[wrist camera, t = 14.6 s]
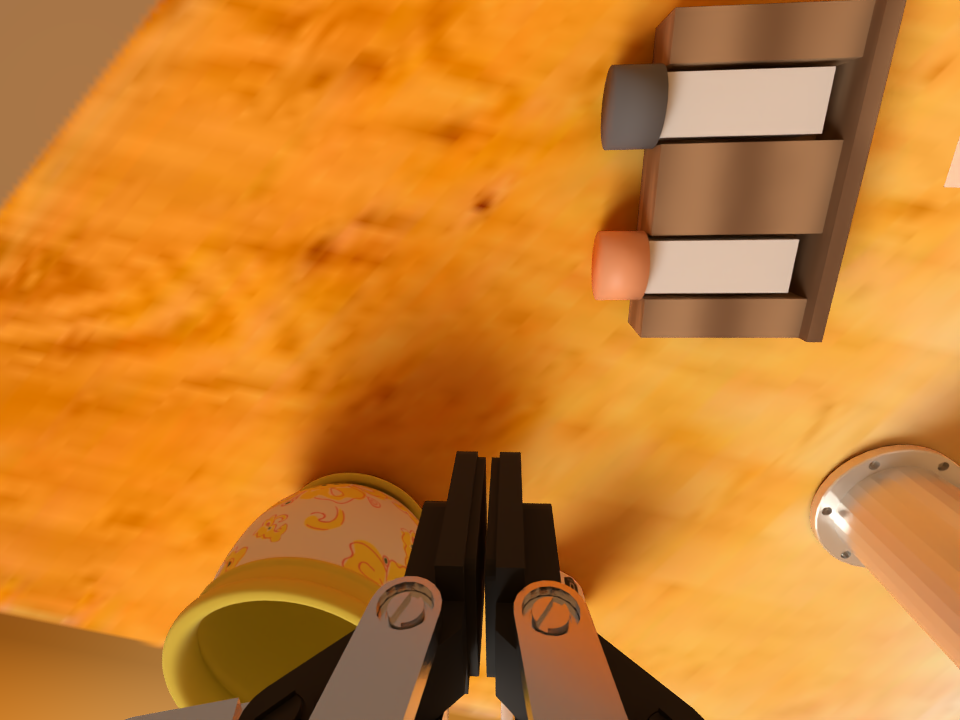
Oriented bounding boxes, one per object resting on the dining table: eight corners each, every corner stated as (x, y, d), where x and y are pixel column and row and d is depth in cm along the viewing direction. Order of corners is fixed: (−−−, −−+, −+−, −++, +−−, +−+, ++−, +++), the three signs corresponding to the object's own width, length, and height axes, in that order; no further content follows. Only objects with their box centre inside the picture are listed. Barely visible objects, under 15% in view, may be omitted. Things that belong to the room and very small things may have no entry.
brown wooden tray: (847, 20, 30) (908, -9, 26) (782, 321, 37) (821, 342, 33) (655, 28, 31) (681, 1, 26) (628, 322, 38) (644, 341, 33)
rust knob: (775, 225, 34) (814, 232, 30) (762, 290, 36) (798, 306, 32) (594, 228, 35) (606, 235, 31) (590, 291, 37) (600, 307, 32)
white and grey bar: (806, 67, 31) (856, 47, 26) (790, 147, 33) (834, 142, 28) (603, 73, 32) (619, 56, 27) (599, 152, 33) (612, 147, 29)
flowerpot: (471, 583, 49) (453, 767, 34) (310, 604, 51) (225, 785, 36) (425, 432, 43) (378, 572, 28) (245, 464, 45) (109, 609, 30)
